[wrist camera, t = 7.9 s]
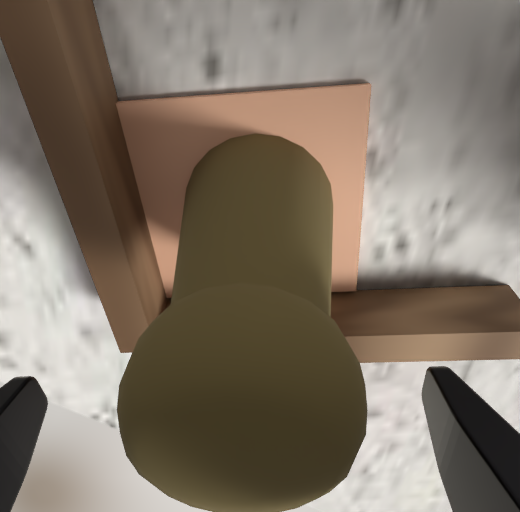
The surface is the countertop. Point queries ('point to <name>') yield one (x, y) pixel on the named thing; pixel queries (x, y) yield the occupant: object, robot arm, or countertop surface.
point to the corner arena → (178, 175)
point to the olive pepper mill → (247, 343)
